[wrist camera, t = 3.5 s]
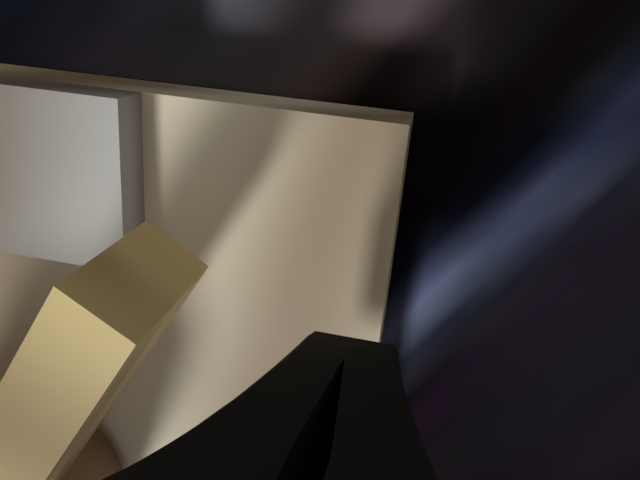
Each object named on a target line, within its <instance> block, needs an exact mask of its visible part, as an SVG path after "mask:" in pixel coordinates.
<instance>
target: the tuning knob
mask: <svg viewBox="0 0 640 480" xmlns="http://www.w3.org/2000/svg"><path fill="white" fill-rule="evenodd" d="M208 267H209V266H208V265H206V264H205V263H204V262H202V261H201V260H200V259H198V258H197V257H195V256H194V255H193V254H191V253H190V252H189V251H187V250H186V249H184V248H183V247H182V246H180V245H179V244H177V243H176V242H175V241H173V240H172V239H171V238H169V237H168V236H166V235H165V234H164V233H162V232H161V231H160V230H158V229H157V228H155V227H154V226H153V225H151V224H150V223H149V222H147V221H145V222H144V223H142V224H141V225H139V226H138V227H137V228H135V229H134V230H132V231H131V232H130V233H128V234H127V235H125V236H124V237H122V238H121V239H120V240H118V241H117V242H115V243H114V244H113V245H111V246H110V247H108V248H107V249H106V250H104V251H103V252H101V253H100V254H98V255H97V256H96V257H94V258H93V259H91V260H90V261H89V262H87V263H86V264H84V265H83V266H82V267H80V268H79V269H77V270H76V271H74V272H73V273H72V274H70V275H69V276H67V277H66V278H65V279H63V280H62V281H60V282H59V283H58V284H56V285H55V286H53V288H52V290H51V292H50V294H49V295H48V297H47V299H46V301H45V303H44V304H43V306H42V308H41V310H40V312H39V314H38V315H37V317H36V319H35V321H34V323H33V324H32V326H31V328H30V330H29V332H28V333H27V335H26V337H25V339H24V341H23V342H22V344H21V346H20V348H19V350H18V351H17V353H16V355H15V357H14V359H13V360H12V362H11V364H10V366H9V368H8V369H7V371H6V373H5V375H4V377H3V378H2V380H1V382H0V480H102V479H104V478H106V477H108V476H110V475H112V474H114V473H116V472H118V471H121V470H123V467H122V464H121V462H120V459H119V457H118V455H117V453H116V451H115V449H114V448H113V446H112V445H111V443H110V442H109V440H108V439H107V438H106V436H105V435H104V434H103V433H102V432H101V431H100V429H99V428H98V426H99V425H100V423H101V422H102V421H103V419H104V418H105V416H106V415H107V413H108V412H109V410H110V409H111V408H112V406H113V405H114V403H115V402H116V400H117V399H118V397H119V396H120V394H121V393H122V392H123V390H124V389H125V387H126V386H127V384H128V383H129V381H130V380H131V379H132V377H133V376H134V374H135V373H136V371H137V370H138V368H139V367H140V366H141V364H142V363H143V361H144V360H145V358H146V357H147V355H148V354H149V352H150V351H151V350H152V348H153V347H154V345H155V344H156V342H157V341H158V339H159V338H160V337H161V335H162V334H163V332H164V331H165V329H166V328H167V326H168V325H169V324H170V322H171V321H172V319H173V318H174V316H175V315H176V313H177V312H178V310H179V309H180V308H181V306H182V305H183V303H184V302H185V300H186V299H187V297H188V296H189V295H190V293H191V292H192V290H193V289H194V287H195V286H196V284H197V283H198V282H199V280H200V279H201V277H202V276H203V274H204V273H205V271H206V270H207V268H208Z"/></svg>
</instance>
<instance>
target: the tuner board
mask: <svg viewBox="0 0 640 480" xmlns="http://www.w3.org/2000/svg"><path fill="white" fill-rule="evenodd" d="M413 116H414V112H405V111H397V110H389V109H380V108H372V107H363V106H355V105H347V104H338V103H330V102H321V101H313V100H305V99H296V98H288V97H280V96H271V95H263V94H254V93H246V92H238V91H229V90H221V89H212V88H204V87H196V86H187V85H179V84H170V83H162V82H154V81H145V80H137V79H128V78H120V77H112V76H103V75H95V74H87V73H78V72H70V71H61V70H53V69H45V68H36V67H28V66H19V65H11V64H3V63H0V382H1V380H2V378H3V377H4V375H5V373H6V371H7V369H8V368H9V366H10V364H11V362H12V360H13V359H14V357H15V355H16V353H17V351H18V350H19V348H20V346H21V344H22V342H23V341H24V339H25V337H26V335H27V333H28V332H29V330H30V328H31V326H32V324H33V323H34V321H35V319H36V317H37V315H38V314H39V312H40V310H41V308H42V306H43V304H44V303H45V301H46V299H47V297H48V295H49V294H50V292H51V290H52V288H53V286H55V285H56V284H58V283H59V282H60V281H62V280H63V279H65V278H66V277H67V276H69V275H70V274H72V273H73V272H74V271H76V270H77V269H79V268H80V267H82V266H83V265H84V264H86V263H87V262H89V261H90V260H91V259H93V258H94V257H96V256H97V255H98V254H100V253H101V252H103V251H104V250H106V249H107V248H108V247H110V246H111V245H113V244H114V243H115V242H117V241H118V240H120V239H121V238H122V237H124V236H125V235H127V234H128V233H130V232H131V231H132V230H134V229H135V228H137V227H138V226H139V225H141V224H142V223H144V222H145V221H147V222H149V223H150V224H151V225H153V226H154V227H155V228H157V229H158V230H160V231H161V232H162V233H164V234H165V235H166V236H168V237H169V238H171V239H172V240H173V241H175V242H176V243H177V244H179V245H180V246H182V247H183V248H184V249H186V250H187V251H189V252H190V253H191V254H193V255H194V256H195V257H197V258H198V259H200V260H201V261H202V262H204V263H205V264H206V265H208V266H209V267H208V268H207V270H206V271H205V273H204V274H203V276H202V277H201V279H200V280H199V282H198V283H197V284H196V286H195V287H194V289H193V290H192V292H191V293H190V295H189V296H188V297H187V299H186V300H185V302H184V303H183V305H182V306H181V308H180V309H179V310H178V312H177V313H176V315H175V316H174V318H173V319H172V321H171V322H170V324H169V325H168V326H167V328H166V329H165V331H164V332H163V334H162V335H161V337H160V338H159V339H158V341H157V342H156V344H155V345H154V347H153V348H152V350H151V351H150V352H149V354H148V355H147V357H146V358H145V360H144V361H143V363H142V364H141V366H140V367H139V368H138V370H137V371H136V373H135V374H134V376H133V377H132V379H131V380H130V381H129V383H128V384H127V386H126V387H125V389H124V390H123V392H122V393H121V394H120V396H119V397H118V399H117V400H116V402H115V403H114V405H113V406H112V408H111V409H110V410H109V412H108V413H107V415H106V416H105V418H104V419H103V421H102V422H101V423H100V425H99V426H98V428H99V429H100V431H101V432H102V433H103V434H104V435H105V436H106V438H107V439H108V440H109V442H110V443H111V445H112V446H113V448H114V449H115V451H116V453H117V455H118V457H119V459H120V462H121V464H122V467H123V469H125V468H127V467H128V466H130V465H132V464H134V463H136V462H138V461H140V460H141V459H143V458H145V457H147V456H148V455H150V454H152V453H154V452H155V451H157V450H159V449H160V448H162V447H164V446H165V445H167V444H169V443H170V442H172V441H174V440H175V439H177V438H178V437H180V436H181V435H183V434H184V433H186V432H188V431H189V430H191V429H192V428H194V427H195V426H197V425H198V424H199V423H201V422H202V421H204V420H205V419H207V418H208V417H209V416H211V415H212V414H214V413H215V412H216V411H218V410H219V409H221V408H222V407H223V406H225V405H226V404H228V403H229V402H230V401H232V400H233V399H234V398H236V397H237V396H238V395H240V394H241V393H242V392H243V391H245V390H246V389H247V388H248V387H250V386H251V385H252V384H253V383H255V382H256V381H257V380H258V379H260V378H261V377H262V376H263V375H264V374H266V373H267V372H268V371H269V370H271V369H272V368H273V367H274V366H275V365H276V364H277V363H279V362H280V361H281V360H282V359H283V358H284V357H285V356H287V355H288V354H289V353H290V352H291V351H292V350H293V349H294V348H295V347H296V346H297V345H299V344H300V343H301V342H302V341H303V340H304V339H305V338H306V337H307V336H308V335H310V334H311V333H313V332H314V331H319V332H324V333H330V334H335V335H341V336H346V337H352V338H357V339H363V340H368V341H374V342H379V343H381V341H382V334H383V327H384V320H385V313H386V306H387V299H388V292H389V285H390V278H391V271H392V264H393V257H394V249H395V242H396V235H397V228H398V221H399V214H400V207H401V200H402V193H403V186H404V179H405V172H406V165H407V158H408V151H409V144H410V137H411V130H412V123H413Z"/></svg>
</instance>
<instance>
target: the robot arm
mask: <svg viewBox="0 0 640 480" xmlns="http://www.w3.org/2000/svg"><path fill="white" fill-rule="evenodd" d="M102 480H438V477H437V475H436V473H435V471H434V469H433V466H432V464H431V462H430V460H429V458H428V455H427V453H426V450H425V448H424V445H423V443H422V441H421V438H420V435H419V432H418V430H417V427H416V424H415V421H414V419H413V416H412V413H411V410H410V407H409V404H408V401H407V398H406V394H405V390H404V387H403V383H402V378H401V374H400V368H399V361H398V352H397V350H396V349H395V348H394V346H393V345H390V344H385V343H379V342H374V341H368V340H363V339H357V338H352V337H346V336H341V335H335V334H330V333H324V332H319V331H314V332H313V333H311V334H310V335H308V336H307V337H306V338H305V339H304V340H303V341H302V342H301V343H300V344H299V345H297V346H296V347H295V348H294V349H293V350H292V351H291V352H290V353H289V354H288V355H287V356H285V357H284V358H283V359H282V360H281V361H280V362H279V363H277V364H276V365H275V366H274V367H273V368H272V369H271V370H269V371H268V372H267V373H266V374H264V375H263V376H262V377H261V378H260V379H258V380H257V381H256V382H255V383H253V384H252V385H251V386H250V387H248V388H247V389H246V390H245V391H243V392H242V393H241V394H240V395H238V396H237V397H236V398H234V399H233V400H232V401H230V402H229V403H228V404H226V405H225V406H223V407H222V408H221V409H219V410H218V411H216V412H215V413H214V414H212V415H211V416H209V417H208V418H207V419H205V420H204V421H202V422H201V423H199V424H198V425H197V426H195V427H194V428H192V429H191V430H189V431H188V432H186V433H184V434H183V435H181V436H180V437H178V438H177V439H175V440H174V441H172V442H170V443H169V444H167V445H165V446H164V447H162V448H160V449H159V450H157V451H155V452H154V453H152V454H150V455H148V456H147V457H145V458H143V459H141V460H140V461H138V462H136V463H134V464H132V465H130V466H128V467H127V468H125V469H123V470H121V471H118V472H116V473H114V474H112V475H110V476H108V477H106V478H104V479H102Z"/></svg>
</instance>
